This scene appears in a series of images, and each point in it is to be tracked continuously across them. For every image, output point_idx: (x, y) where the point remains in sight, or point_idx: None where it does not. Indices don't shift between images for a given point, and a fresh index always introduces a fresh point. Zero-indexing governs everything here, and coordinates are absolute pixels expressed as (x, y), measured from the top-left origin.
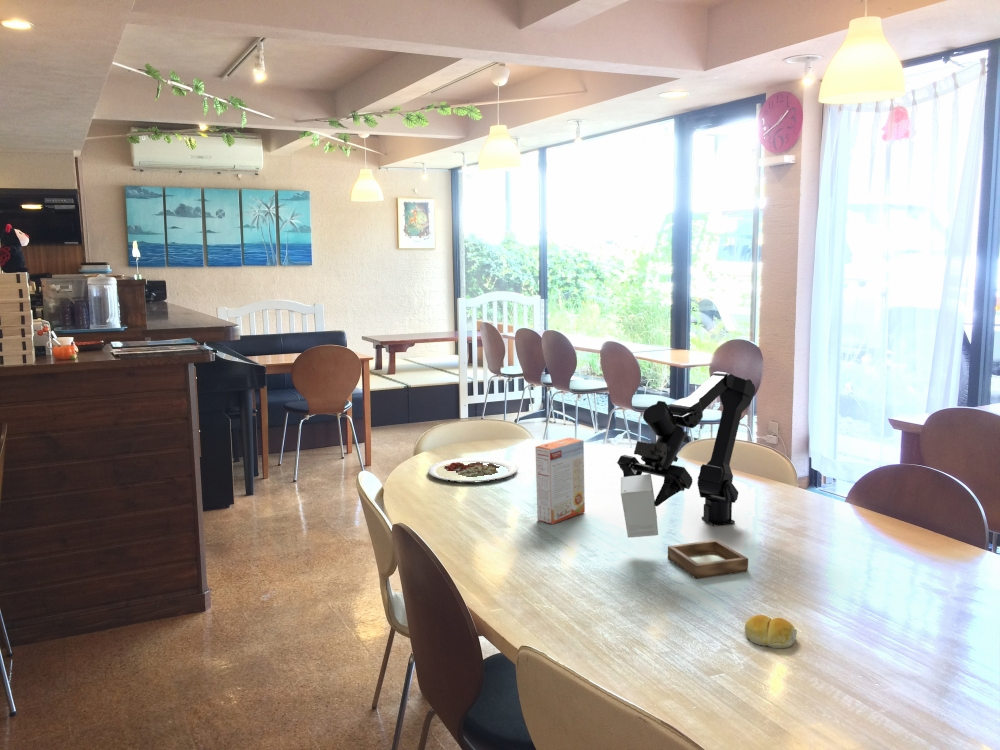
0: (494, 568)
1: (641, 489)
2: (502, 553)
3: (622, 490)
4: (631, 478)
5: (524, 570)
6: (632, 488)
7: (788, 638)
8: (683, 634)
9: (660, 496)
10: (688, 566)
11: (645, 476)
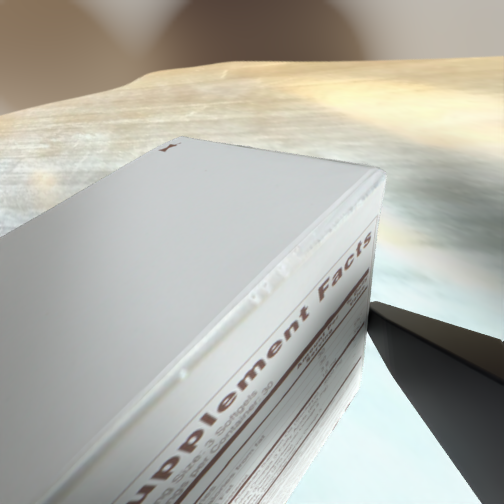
0: (355, 97)
1: (52, 215)
2: (428, 122)
3: (190, 141)
4: (231, 223)
5: (322, 127)
6: (127, 178)
7: None
8: (10, 202)
9: None
10: None
11: (33, 407)
